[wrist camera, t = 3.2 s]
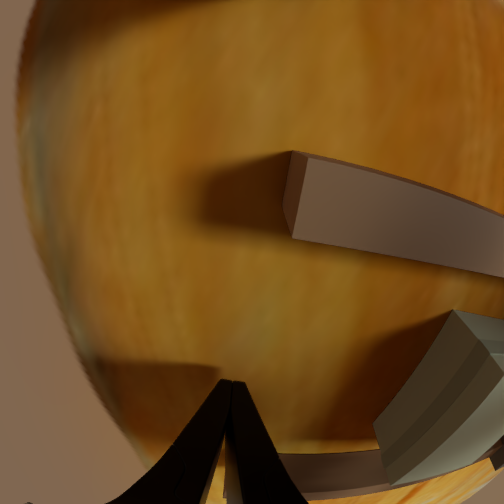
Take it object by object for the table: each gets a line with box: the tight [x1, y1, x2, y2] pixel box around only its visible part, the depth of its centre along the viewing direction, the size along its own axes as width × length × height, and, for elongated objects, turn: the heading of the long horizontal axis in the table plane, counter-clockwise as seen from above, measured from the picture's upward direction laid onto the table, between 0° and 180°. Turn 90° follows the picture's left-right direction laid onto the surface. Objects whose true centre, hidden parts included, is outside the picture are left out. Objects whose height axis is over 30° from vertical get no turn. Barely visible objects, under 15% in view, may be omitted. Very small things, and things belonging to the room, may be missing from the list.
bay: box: [223, 150, 504, 501], centre depth 9 cm, size 22×16×4 cm
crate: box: [372, 310, 504, 486], centre depth 9 cm, size 6×7×4 cm
